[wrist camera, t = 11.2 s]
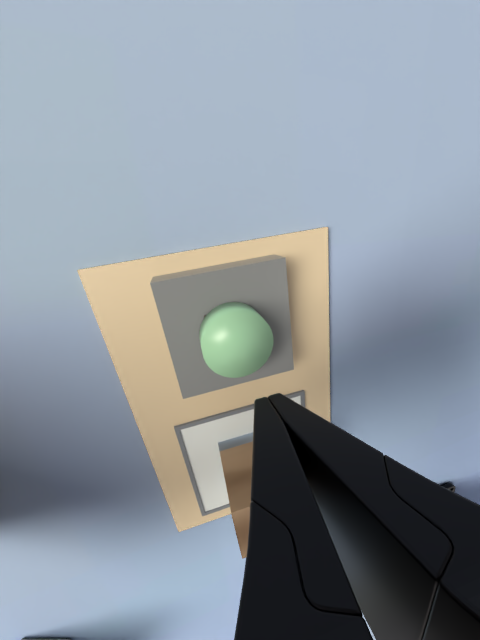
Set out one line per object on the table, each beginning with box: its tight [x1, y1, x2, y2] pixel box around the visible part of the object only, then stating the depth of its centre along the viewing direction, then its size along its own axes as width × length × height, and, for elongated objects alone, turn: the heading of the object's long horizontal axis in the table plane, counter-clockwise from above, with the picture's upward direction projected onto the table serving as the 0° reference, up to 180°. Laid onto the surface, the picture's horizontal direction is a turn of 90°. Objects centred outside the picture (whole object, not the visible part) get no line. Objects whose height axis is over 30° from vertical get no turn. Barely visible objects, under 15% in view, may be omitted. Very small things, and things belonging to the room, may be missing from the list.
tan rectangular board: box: [77, 227, 330, 532], centre depth 18 cm, size 22×14×1 cm, turn 8°
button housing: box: [150, 254, 294, 399], centre depth 15 cm, size 7×7×2 cm
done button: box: [199, 302, 273, 378], centre depth 14 cm, size 4×4×4 cm
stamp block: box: [218, 432, 253, 559], centre depth 18 cm, size 4×4×5 cm
